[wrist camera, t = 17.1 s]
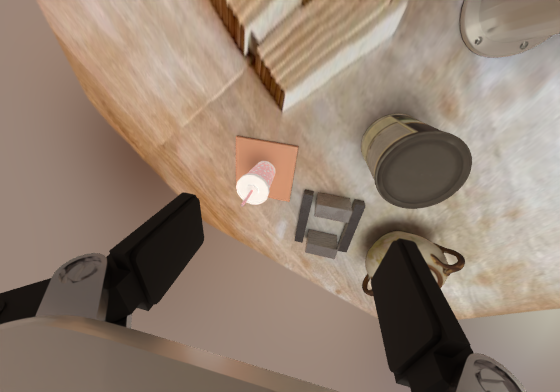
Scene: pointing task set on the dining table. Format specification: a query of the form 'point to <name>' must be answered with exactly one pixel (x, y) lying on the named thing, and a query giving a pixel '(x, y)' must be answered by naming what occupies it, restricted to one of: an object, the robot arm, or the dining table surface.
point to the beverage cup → (256, 183)
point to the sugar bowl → (428, 250)
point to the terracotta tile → (275, 153)
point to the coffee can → (414, 161)
